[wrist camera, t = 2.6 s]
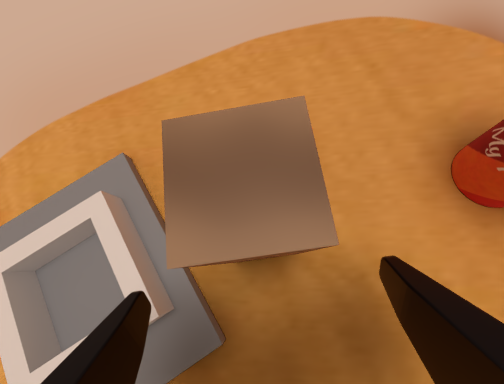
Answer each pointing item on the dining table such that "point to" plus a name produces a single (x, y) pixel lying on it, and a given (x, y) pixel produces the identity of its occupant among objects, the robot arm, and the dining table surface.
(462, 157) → the paper cup
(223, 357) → the dining table surface
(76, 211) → the socket board
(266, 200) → the tall wooden pillar
